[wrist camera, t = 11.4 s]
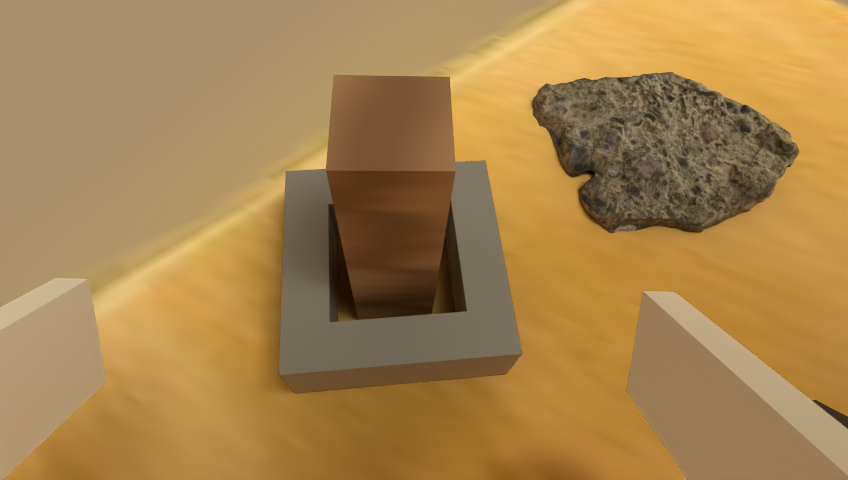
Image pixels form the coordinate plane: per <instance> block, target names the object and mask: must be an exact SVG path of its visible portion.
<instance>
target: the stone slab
mask: <svg viewBox="0 0 848 480" xmlns="http://www.w3.org/2000/svg"><path fill="white" fill-rule="evenodd" d="M533 102H534V112H533V116H534V117H535V118H536V119H537V121H538V123H539V125H540V126H543V127H545V128H546V129H547V130H548V131H549V133H550V136H551V138H552V140H553V142H554V145H555V147H556V149H557V151H558V155H559V160H560V162H561V164H562V165H563V167H564V169H565V171H566V172H567V173H569V174H570V175H572V176H576V175H580V174H582V173H584V172H586V171H588V170H589V171H595V175H594V176H593V177H592V178H591V179H590V180H588V181H587V183H586V184H585V185H583V186H582V187H581V189H580V190H579V195H580V200H581V202H582V204H583V207H584V209H585V211H586V212H587V213H588V214H589V215H591V216H592V217H594V219H595V221H596V223H598V224H600V225H601V226H602V227H603V228H605V229H606V230H607V231H608V232H610V233H615V232H619V231H633V230H640V229H644V228H648V227H652V226H665V227H670V228H681V229H683V230H686V231H692V232H702V231H703V230H704V229H707V228H709V227H712V226H714V225H717V224H719V223H721V222H723V221H724V220H726V219H728V218H731V217H734V216H736V215H737V214H739V213H741V212H745V211H750V210H751V208H752V207H753V205H754V204H755V203H759V202H763V201H764V200H765V198H767V197H769V196H770V195H771V194H772V192H773V190H774V187H775V185H776V183H777V181H778V179H779V178H780V177H781V176H783V174H784V172H785V170H786V168H787V167H790V166H791V165H792V163H793V161H794V160H795V158H796V157H797V155H798V153H799V149H798V147H797V144H796V143H794V142H792V141H791V135H790V133H789V132H788V131H786V130H785V129H783V128H782V127H780V126H779V125H777V124H776V123H773V122H771V121H770V120H769V119H767V118H766V117H765V116H764V115H762V114H761V113H759V112H757V111H756V110H754V109H752V108H750V107H749V106H748V105H742V104H740V103H738V102H736V101H734V100H731V99H729V98H726V97H723V95H722V94H721V93H718V92H715V91H711V90H708V89H707V87H706V86H704V85H703V84H701V83H698V82H696V81H693V80H690V79H686V78H683V77H681V76H678V75H676V74H674V73H673V72H667V73H653V74H643V75H640V76H632V77H621V78H612V77H604V78H601V79H599V80H590V79H586V78H583V79H579V80H575V81H572V82H569V83H560V84H556V85H551V84H545V85H544V86H543V87H542V88H541V89H540V90H539V93H538V94H537V95H536V96H535V97H534V101H533ZM557 140H558V142H557Z"/></svg>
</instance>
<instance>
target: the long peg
mask: <svg viewBox="0 0 848 480" xmlns="http://www.w3.org/2000/svg"><path fill="white" fill-rule="evenodd" d="M455 172H456V169H455V154H454V138H453V122H452V107H451V91H450V77H419V76H352V75H334V78H333V90H332V102H331V115H330V127H329V139H328V151H327V164H326V173H327V178H328V182H329V187H330V192H331V196H332V201H333V206H334V210H335V215H336V219H337V224H338V229H339V233H340V238H341V243H342V247H343V252H344V256H345V261H346V266H347V270H348V275H349V280H350V284H351V289H352V293H353V298H354V303H355V307H356V312H357V317H358V320H365V319H377V318H390V317H402V316H415V315H428V314H432V310H433V304H434V298H435V292H436V286H437V280H438V274H439V268H440V262H441V256H442V250H443V244H444V238H445V232H446V226H447V220H448V214H449V208H450V202H451V196H452V190H453V184H454V178H455Z"/></svg>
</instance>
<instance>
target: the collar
mask: <svg viewBox="0 0 848 480" xmlns="http://www.w3.org/2000/svg"><path fill="white" fill-rule="evenodd" d="M455 169H456V172H455V178H454V184H453V190H452V196H451V202H450V208H449V214H448V220H447V226H446V232H445V239H446V246H447V254H448V261H449V269H450V276H451V284H452V291H453V299H454V306H455V312H453V313H440V314H428V315H415V316H402V317H390V318H377V319H365V320H352V321H339V322H338V293H337V244H336V240H339V239H341V238H340V233H339V229H338V224H337V219H336V215H335V210H334V206H333V201H332V196H331V192H330V187H329V182H328V178H327V173H326V169H319V170H300V171H286V178H285V207H284V236H283V265H282V294H281V323H280V352H279V376H280V377H281V378H282V379H283V380H284V381H285V383H286V384H287V385H288V386H289V387H290V388H291V389H292V390H293V391H294V393H304V392H315V391H326V390H337V389H348V388H359V387H370V386H381V385H392V384H403V383H414V382H425V381H436V380H447V379H459V378H470V377H481V376H492V375H503V374H507V372H508V371H509V370H510V369H511V367H512V366H513V365H514V364H515V362H516V361H517V360H518V358H519V357H520V356H521V355H522V350H521V345H520V340H519V335H518V329H517V324H516V319H515V313H514V308H513V303H512V298H511V292H510V287H509V282H508V277H507V271H506V266H505V261H504V256H503V250H502V245H501V240H500V235H499V229H498V224H497V219H496V214H495V208H494V203H493V198H492V193H491V187H490V182H489V177H488V171H487V166H486V161H466V162H455Z"/></svg>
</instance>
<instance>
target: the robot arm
mask: <svg viewBox="0 0 848 480" xmlns="http://www.w3.org/2000/svg"><path fill="white" fill-rule="evenodd" d="M105 383H106V376H105V370H104V364H103V359H102V353H101V347H100V341H99V335H98V330H97V324H96V318H95V312H94V306H93V301H92V295H91V289H90V283H89V279H72V278H55V279H53V280H51V281H49V282H47V283H45V284H44V285H42V286H40V287H38V288H36V289H34V290H32V291H30V292H28V293H26V294H25V295H23V296H21V297H19V298H17V299H15V300H13V301H11V302H10V303H7V304H6V305H4V306H2V307H0V480H3V479H4V478H6V477H7V476H8V475H9V474H10V473H11V472H12V471H13V470H14V469H15V468H16V467H17V466H18V465H19V464H20V463H21V462H22V461H23V460H25V459H26V458H27V457H28V456H29V455H30V454H31V453H32V452H33V451H34V450H35V449H36V448H37V447H38V446H39V445H40V444H41V443H43V442H44V441H45V440H46V439H47V438H48V437H49V436H50V435H51V434H52V433H53V432H54V431H55V430H56V429H57V428H58V427H59V426H60V425H62V424H63V423H64V422H65V421H66V420H67V419H68V418H69V417H70V416H71V415H72V414H73V413H74V412H75V411H76V410H77V409H78V408H79V407H81V406H82V405H83V404H84V403H85V402H86V401H87V400H88V399H89V398H90V397H91V396H92V395H93V394H94V393H95V392H96V391H97V390H99V389H100V388H101V387H102V386H103V385H104V384H105ZM627 393H628V394H629V395H630V397H631V398H632V400H633V401H634V403H635V404H636V406H637V407H638V409H639V410H640V411H641V413H642V414H643V416H644V417H645V419H646V420H647V422H648V423H649V425H650V426H651V427H652V429H653V430H654V432H655V433H656V435H657V436H658V438H659V439H660V440H661V442H662V443H663V445H664V446H665V448H666V449H667V451H668V452H669V454H670V455H671V456H672V458H673V459H674V461H675V462H676V464H677V465H678V467H679V468H680V470H681V471H682V472H683V474H684V475H685V477H686V478H687V480H848V417H847V416H845V415H843V414H841V413H839V412H837V411H836V410H834V409H832V408H830V407H828V406H826V405H824V404H822V403H820V402H818V401H816V400H811V399H809V398H808V397H807V396H806V395H804V394H803V393H802V392H800V391H799V390H798V389H797V388H795V387H794V386H793V385H792V384H790V383H789V382H788V381H787V380H785V379H784V378H783V377H782V376H780V375H779V374H778V373H777V372H775V371H774V370H773V369H771V368H770V367H769V366H768V365H766V364H765V363H764V362H763V361H761V360H760V359H759V358H758V357H756V356H755V355H754V354H753V353H751V352H750V351H749V350H748V349H746V348H745V347H744V346H742V345H741V344H740V343H739V342H737V341H736V340H735V339H734V338H732V337H731V336H730V335H729V334H727V333H726V332H725V331H724V330H722V329H721V328H720V327H719V326H717V325H716V324H715V323H713V322H712V321H711V320H710V319H708V318H707V317H706V316H705V315H703V314H702V313H701V312H700V311H698V310H697V309H696V308H695V307H693V306H692V305H691V304H690V303H688V302H687V301H686V300H684V299H683V298H682V297H681V296H679V295H678V294H677V293H676V292H666V291H643V294H642V300H641V306H640V313H639V319H638V325H637V331H636V337H635V343H634V349H633V355H632V361H631V367H630V374H629V380H628V386H627Z"/></svg>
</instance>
